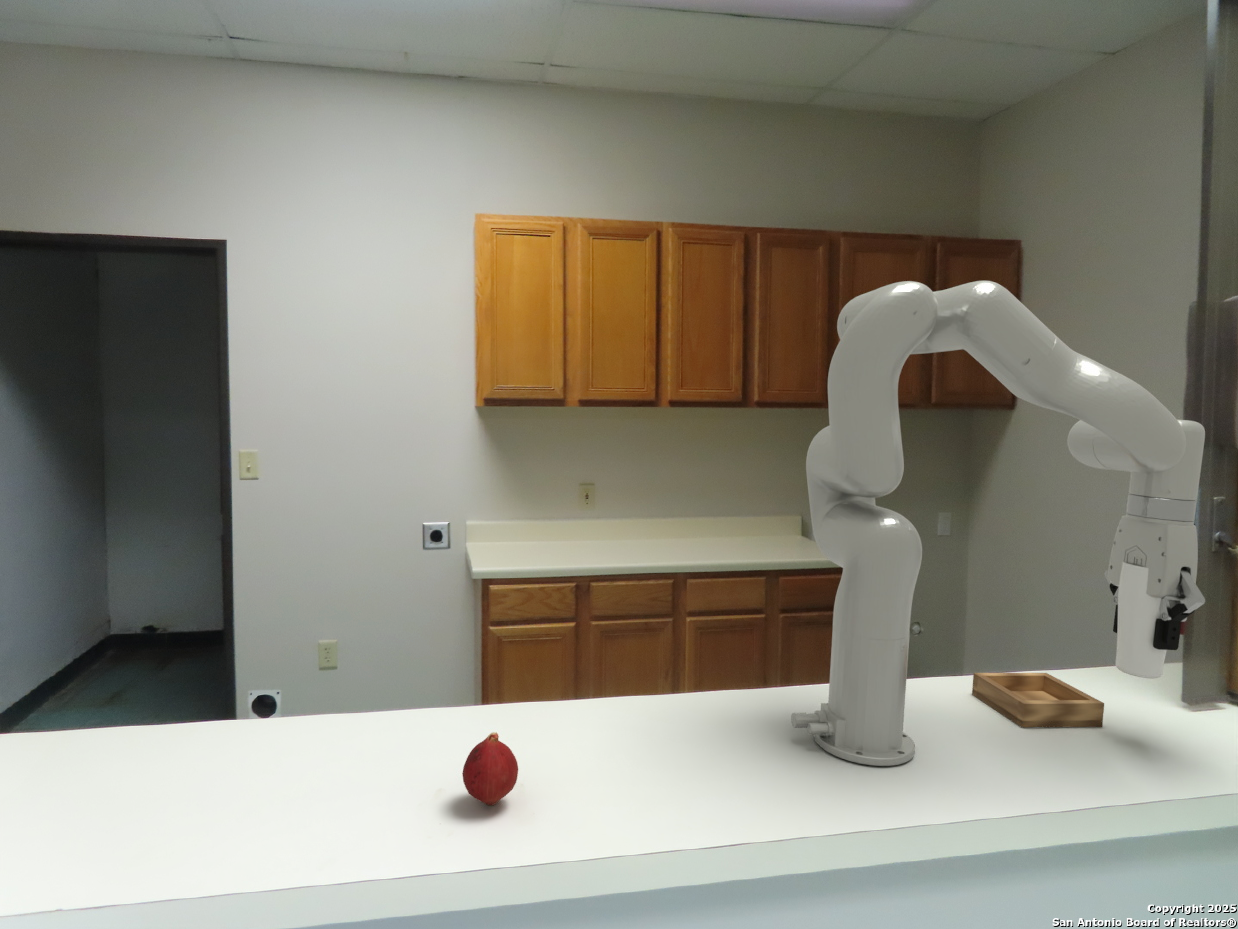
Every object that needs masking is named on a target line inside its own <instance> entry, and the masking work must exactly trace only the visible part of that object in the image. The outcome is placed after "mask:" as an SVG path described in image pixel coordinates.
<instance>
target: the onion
mask: <svg viewBox="0 0 1238 929" xmlns="http://www.w3.org/2000/svg"><path fill="white" fill-rule="evenodd" d="M499 738H500V736H499V734H498V733H497V732H493V731H492V732H491V733H490V734H489V735H488V736H486V738H485V739H483V740H482V741H480V742H478V743H477V744H476V745H475V746H474V747H473V748H472V749H471V750H470V751H469V753H468V755H467V757H466V759H465V763H464V765H463V768H462V780H463V781H462V782H463V784H464V787H465V789H466V791H467V793H468V794H469V795H470V796H471V797H473V798H474V799H476V800H477V801H479V802H481V803H483V804H485V805H487V806H495V805H496V804H497V803H498V802H499V801H501V800H502V799H504V798H505V797H506V796H507V795H508V794H509V793H510V792H511V791H512V790H514V787H515V785H516V784H517V781H518V776H519V765H518V760H517V758H516V756H515V754H514V752H513V750H511V748H510V747H509V746H507V744H505V743H504V742H502V741H500V740H499Z"/></svg>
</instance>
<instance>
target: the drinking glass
mask: <svg viewBox="0 0 1238 929" xmlns="http://www.w3.org/2000/svg"><path fill="white" fill-rule="evenodd" d="M1147 582H1148V568H1146V567H1141V566H1136V565H1132V564H1128V563H1126V562H1124V561H1123V562H1122V567H1121V573H1120V579H1119V588H1118V625H1117V633H1116V655H1115V656H1116V657H1115V667H1116V669H1117V670H1119V672H1122V673H1124V674H1127V675H1129V676H1133V677H1136V678H1137V677H1138V678H1143V679H1150V680H1151V679H1158V678H1161V677H1162V675H1163V672H1164V665H1165V660H1166V656H1167V651H1168V650H1159V649H1156V648H1154V647H1153V640H1154V632H1155V623H1156V619H1162V618H1161V615H1160V610H1159V607H1160V602H1161V598H1154V597H1150V596H1149V595H1148V594H1146V591H1147ZM1177 591H1178V590H1176V589H1175V590H1174V592H1173V593H1172V595H1171V596H1177ZM1166 596H1167V595H1166ZM1169 605H1170V609H1171V608H1172V607H1174V606H1175V601H1169Z"/></svg>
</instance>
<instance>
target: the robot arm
mask: <svg viewBox="0 0 1238 929" xmlns="http://www.w3.org/2000/svg"><path fill="white" fill-rule="evenodd" d="M836 329H837V334H838V335H837V336H838V337H839V341H838V344H837V345H836V348H835V350H834V353H833V355H832V356H831V361H830V364H829V369H828V376H827V401H828V420H829V421H828V423H829V425H827V426H826V427H823V428H822V429H821V430H819V431H818V432H817V434H815V435H814V437H813V438H812V440H811V442H810V444H809V446H808V449H807V454H806V458H805V459H806V460H805V471H806V472H805V473H806V480H807V481H806V482H807V492H808V493H807V494H808V500H809V511H810V520H811V526H812V528H811V529H812V533H813V537H814V540H815V543H816V546H817V548H818V550H819V551H820V553H821V554H822V555H823V556H824V557H825V558H826V559H828V560H829V561H830V562H831V563H833V564H835V565H837V566H839V567H841V568H842V573H841V577H840V581H839V584H838V587H837V591H836V594H835V600H834V604H833V615H832V633H831V634H832V636H831V650H830V652H831V653H830V654H831V655H830V670H829V684H828V685H829V686H828V703H825V702H824V703H823V702H822V703H820V710H818V709H817V710H815V711H814V712H813V713H811V712H792V713H791V718H790V720H791V721H790V722H791V726H792V727H793V729H807V733H808V734H809V735H814V740H815V743H817V745H818V746H820V748H822V749H823V750H824V751H826V752H827V753H829V754H831V755H833V756H835V757H837V758H840V759H843V760H846V761H848V762H852V763H857V764H860V765H865V766H866V765H868V766H878V767H891V766H899V765H902V764H905V763H907V762H909V761H910V760H912V759H913V757H914V755H915V750H916V747H915V742H914V740H913V739H912V738H911V737H910V736H909V735H908V734H907V733H906V732H904V724H905V723H904V719H905V707H906V706H905V705H906V690H907V677H908V676H907V675H908V661H909V649H910V648H909V646H910V645H909V644H910V630H911V629H910V628H911V616H912V607H913V605H912V604H913V598H914V593H915V589H916V588H915V587H916V585H917V582H918V581H917V580H918V576H919V573H920V569H921V565H922V561H923V560H922V559H923V545H922V539H921V537H920V534H919V532H918V530H917V528H916V527H915V525H914V524H913V523H912V522H911V521H910V520H909V519H907V518H906V517H905V516H904V515H902V514H901V513H899V512H897V511H895V510H892V509H889V508H886V507H882V506H879V505H876V498H881V497H882V498H883V497H884V496H886V495H890V494H891V493H892V492H894V491H895V490H896V489H897V488H898V486H899V485H900V484H901V482H902V478H903V475H904V470H905V464H904V463H905V460H904V450H903V442H902V432H901V430H902V429H901V419H900V412H899V410H900V408H899V380H900V375H901V373H902V369H903V366H904V365H905V363H906V361H907V359H908V358H909V357H910V355H918V354H919V355H921V354H923V355H924V354H932V353H933V354H934V353H941V352H942V353H943V352H952V351H959V350H964V351H965V352H967V353H968V354H969V355H970V356H971V357H972V358H974V359H975V360H976V362H978V363H979V364H980V365H981V366H982V367H984V369H986V370H987V371H988V372H989V373H990V374H991V375H993V377H994V378H996V379H997V380H998V381H999V382H1000V383H1001V384H1002V385H1003V386H1004V387H1005V388H1006V389H1007V390H1008V391H1009V392H1010V393H1012V394H1013V396H1015V397H1016V398H1019V399H1020V400H1023V401H1025V402H1026V403H1027V402H1028V403H1030V404H1032V405H1035V406H1037V407H1041V408H1044V409H1048V410H1051V411H1055V412H1058V413H1062V414H1063V415H1064V414H1065V415H1068V416H1071V417H1072V418H1075V419H1077V420H1078V421H1077V422H1076V423H1075V424H1073V425H1072V427H1071V429H1070V430H1069V432H1068V435H1067V448H1068V451H1069V452H1070V454H1071V455H1072V457H1073V458H1074V459H1076V461H1078V462H1079V463H1081V464H1083V465H1085V466H1088V467H1091V468H1095V469H1100V470H1108V471H1121V472H1122V471H1123V472H1130V476H1129V477H1130V478H1129V487H1128V488H1129V489H1128V493H1127V494H1128V496H1127V500H1126V513H1125V515H1122V516H1121V518H1120V519H1119V522H1118V526H1117V528H1116V531H1115V535H1114V539H1113V543H1112V547H1111V552H1110V556H1109V563H1108V568H1107V569H1106V570H1105V571H1104V573H1103V575H1104V578H1105V579H1106V581H1107V583H1108V585H1109V590H1110V592H1111V594H1112V596H1113V597H1112V602H1113V604H1115V609H1114V620H1113V628H1112V631H1113V633H1115V634H1117V625H1118V588H1119V579H1120V573H1121V567H1122V562H1123V561H1124V562H1126V563H1128V564H1132V565H1136V566H1141V567H1146V568H1148V582H1147V591H1146V594H1148V595H1149V596H1150V597H1154V598H1161V602H1160V607H1159V610H1160V615H1161V618H1162V619H1156V623H1155V632H1154V640H1153V647H1154V648H1156V649H1159V650H1167V651H1177V650H1178V649H1179V647H1180V646H1179V645H1180V638H1181V631H1182V630H1181V628H1182V622H1186V621H1187V620H1188V617H1189V616H1190V615H1192V614H1194V613H1195V611H1196V610H1197V609H1199V608H1200V607H1201V606H1203V605H1205V603H1206V598H1205V596H1204V595H1203V593H1202V592H1201V590H1200V589H1199V587H1198V585H1197V583H1196V582H1197V575H1198V561H1199V559H1198V557H1199V556H1198V554H1199V551H1198V549H1199V548H1198V545H1199V543H1198V532H1197V526H1196V525H1195V520H1196V518H1195V517H1196V510H1197V503H1198V495H1199V486H1200V478H1201V471H1202V464H1203V463H1202V462H1203V455H1204V446H1205V440H1206V439H1205V438H1206V431H1205V427H1204V426H1203V425H1202V424H1201V423H1200V422H1197V421H1194V420H1188V419H1186V420H1185V419H1177V418H1176V417H1175V416H1174V414H1173V413H1172V412H1171V411H1170V410H1169V409H1168V408H1167V407H1166V406H1165V405H1163V404H1162V402H1161V401H1160V400H1158V398H1156V396H1154V395H1153V394H1152V393H1151V392H1150V391H1148V389H1146V388H1144V386H1142V385H1141V384H1140V383H1137V382H1136V381H1134V380H1133V379H1131V378H1129V377H1127V376H1125V375H1124V374H1122V373H1120V372H1117V371H1116V370H1114V369H1111V368H1110V367H1108V366H1106V365H1104V364H1101V363H1100V362H1098V361H1097V360H1094V359H1092V358H1090V357H1088V356H1086V355H1084V354H1081V353H1079V352H1077V351H1075V350H1073V349H1072V348H1070V346H1068V345H1067V344H1066V343H1065V342H1064V341H1062V340H1061V338H1059V337H1058V336H1057V335H1056V333H1054V332H1053V331H1052V330H1051V329H1050V328H1049V327H1048V326H1046V324H1044V323H1043V322H1042V321H1041V320H1040V319H1039V318H1038V317H1037V316H1036V314H1034V313H1033V312H1032V311H1031V310H1029V308H1027V306H1026V305H1024V304H1023V303H1022V302H1021V301H1020V300H1019V299H1018V298H1017V297H1016V296H1015V295H1014V294H1013V293H1011V291H1009V290H1008V289H1007V287H1004V286H1003V285H1001V284H999V283H998V282H994V281H992V280H976V281H972V282H967V283H963V284H959V285H956V286H953V287H950V288H947V289H943V290H936V291H933V290H932V289H931V288H930V287H929V286H928V285H926V284H924V283H921V282H918V281H914V280H913V281H912V280H907V281H906V280H905V281H904V280H903V281H898V282H894V283H890V284H886V285H884V286H881V287H878V288H876V289H873V290H871V291H868V292H866V293H863V294H860V295H858V296H857V295H856V296H855V297H854V298H852V299H850V300H849V301H848V302H847V303H846V304H845V305H844V306H843V307H842V309H841V311H840V313H839V314H838V318H837V323H836ZM1175 589H1176V590H1178V591H1177V596H1171V595H1172V593H1173V592H1174V590H1175ZM1166 595H1167V596H1166ZM1169 601H1175V606H1174V607H1172V608H1171V609H1170V605H1169Z"/></svg>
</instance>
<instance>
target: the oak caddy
mask: <svg viewBox="0 0 1238 929" xmlns="http://www.w3.org/2000/svg"><path fill="white" fill-rule="evenodd" d="M971 688H972V690H971V695H972V696H974V697H975V698H977V699H978V700H979V701H981V702H983V703H984V704H986V705H987V706H988V707H990V708H992V710H994V711H996V712H997V713H999V712H1000V713H999V714H1001V715H1002V716H1003V717H1005V718H1006V719H1008V718H1009V719H1008V720H1009V721H1011V720H1012V721H1011V722H1012V723H1014V724H1016V725H1017V724H1018V726H1019V727H1020V726H1021V727H1020V728H1022V727H1024V728H1025V729H1028V728H1027V727H1030V728H1029V729H1031V728H1033V727H1044V728H1102V727H1103V724H1104V714H1105V713H1104V711H1105V703H1104V702H1102V701H1100V700H1099V699H1097V698H1095V697H1093V696H1091V695H1089V694H1087V693H1086V692H1085V691H1082V690H1080V689H1077V688H1076V687H1074V686H1072V685H1070V684H1068V683H1067V682H1065V681H1063V680H1061V679H1059V678H1057V677H1055V676H1053V675H1051V674H1049V673H1047V672H973V676H972V687H971ZM1024 728H1023V729H1024Z"/></svg>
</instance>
